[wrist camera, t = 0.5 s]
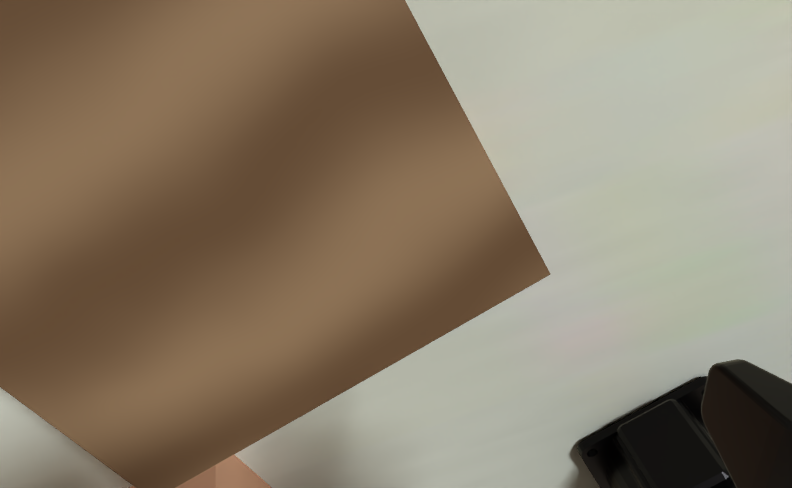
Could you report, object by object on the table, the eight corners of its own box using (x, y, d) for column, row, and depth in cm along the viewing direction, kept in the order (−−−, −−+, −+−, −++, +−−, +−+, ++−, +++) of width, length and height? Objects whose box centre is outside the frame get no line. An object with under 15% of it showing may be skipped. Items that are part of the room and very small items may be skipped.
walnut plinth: (504, 207, 24) (550, 274, 21) (160, 408, 26) (153, 500, 22) (266, -232, 16) (279, -235, 13) (-208, 92, 18) (-303, 162, 15)
